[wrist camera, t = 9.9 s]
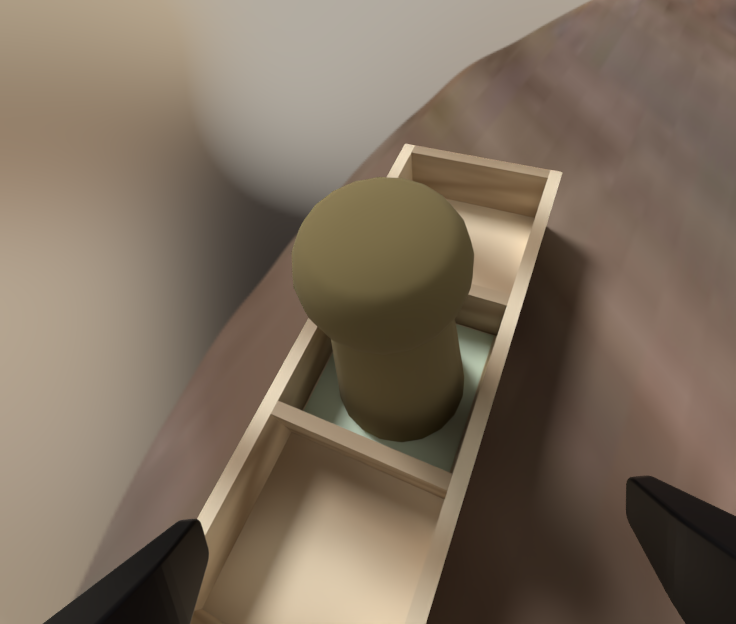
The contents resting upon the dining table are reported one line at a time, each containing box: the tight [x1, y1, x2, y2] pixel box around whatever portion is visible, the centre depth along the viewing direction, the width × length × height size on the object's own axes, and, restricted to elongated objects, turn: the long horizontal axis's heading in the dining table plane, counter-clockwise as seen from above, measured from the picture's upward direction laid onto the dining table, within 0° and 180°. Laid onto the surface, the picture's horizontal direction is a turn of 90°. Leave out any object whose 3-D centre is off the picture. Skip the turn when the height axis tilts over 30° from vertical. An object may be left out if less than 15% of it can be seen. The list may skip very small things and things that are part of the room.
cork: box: [292, 177, 474, 442], centre depth 15 cm, size 6×6×11 cm
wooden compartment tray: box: [190, 144, 562, 624], centre depth 19 cm, size 25×9×4 cm, turn 156°
